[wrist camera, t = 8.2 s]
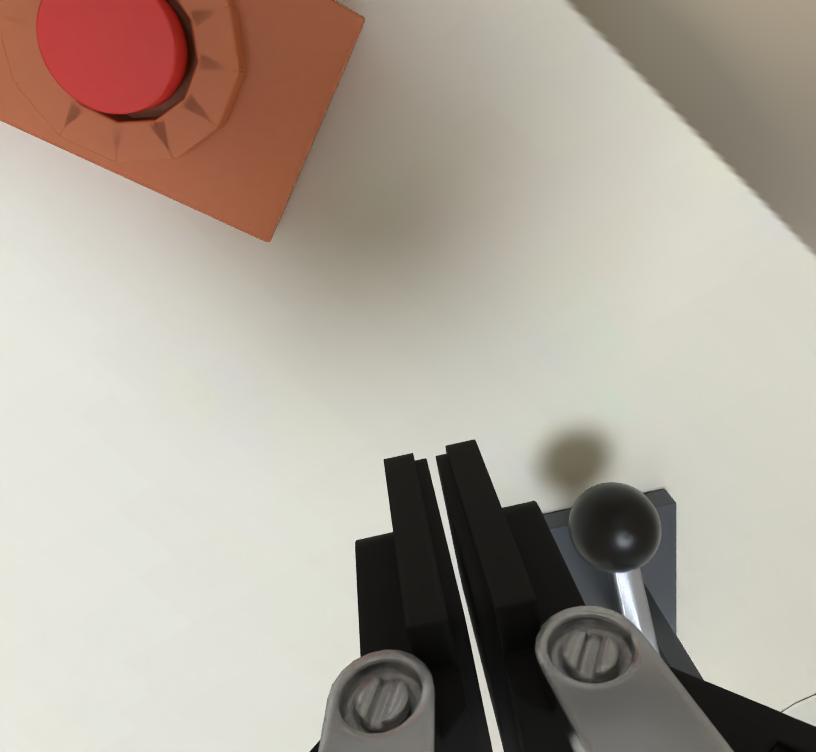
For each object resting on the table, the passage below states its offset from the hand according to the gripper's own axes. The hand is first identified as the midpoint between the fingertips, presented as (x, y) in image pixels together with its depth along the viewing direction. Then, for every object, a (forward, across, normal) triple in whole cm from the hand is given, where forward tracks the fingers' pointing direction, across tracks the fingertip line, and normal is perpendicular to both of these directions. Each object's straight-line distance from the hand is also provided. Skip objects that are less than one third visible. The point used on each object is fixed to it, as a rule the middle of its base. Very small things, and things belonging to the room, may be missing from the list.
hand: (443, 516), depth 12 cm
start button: (+13, +6, -9) cm, 17 cm away
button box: (+16, +6, -9) cm, 20 cm away
